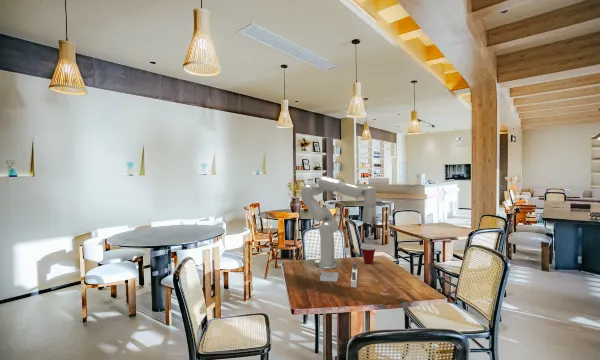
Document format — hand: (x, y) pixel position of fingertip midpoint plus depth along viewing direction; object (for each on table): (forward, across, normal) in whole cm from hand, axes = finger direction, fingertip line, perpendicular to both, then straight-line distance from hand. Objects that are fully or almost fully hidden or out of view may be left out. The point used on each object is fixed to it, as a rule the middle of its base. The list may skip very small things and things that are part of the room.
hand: (369, 231), depth 208 cm
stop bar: (+26, +11, -16) cm, 33 cm away
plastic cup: (+27, -19, +12) cm, 35 cm away
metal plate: (+27, +3, -29) cm, 40 cm away
